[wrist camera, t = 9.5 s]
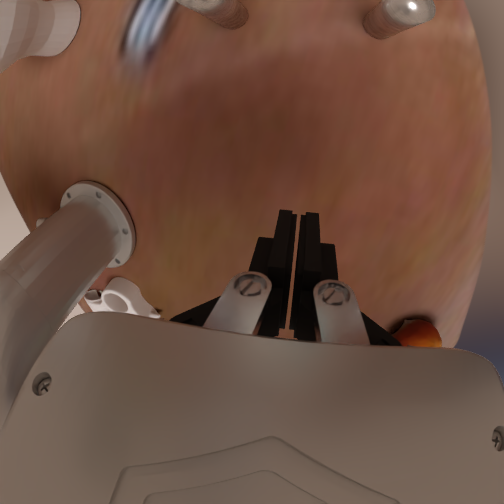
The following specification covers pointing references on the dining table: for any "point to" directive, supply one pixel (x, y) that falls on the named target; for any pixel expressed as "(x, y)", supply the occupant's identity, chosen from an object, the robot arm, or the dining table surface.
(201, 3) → the inner post
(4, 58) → the cup
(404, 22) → the outer post
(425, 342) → the fruit
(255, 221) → the dining table surface
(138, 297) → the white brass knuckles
